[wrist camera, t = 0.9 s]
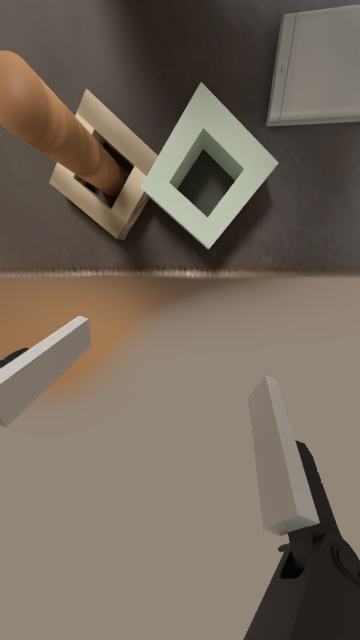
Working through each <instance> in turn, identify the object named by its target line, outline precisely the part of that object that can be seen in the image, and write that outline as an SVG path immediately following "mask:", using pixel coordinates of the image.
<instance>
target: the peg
mask: <svg viewBox="0 0 360 640" xmlns="http://www.w3.org/2000/svg"><path fill="white" fill-rule="evenodd" d="M0 124H1V125H2V126H3V127H4V128H5V129H7V130H8V131H10V132H11V133H13V134H15V135H16V136H18V137H19V138H21V139H22V140H24V141H25V142H27V143H28V144H30V145H31V146H33V147H35V148H36V149H38V150H39V151H41V152H42V153H44V154H45V155H47V156H48V157H50V158H52V159H53V160H55V161H56V162H58V163H59V164H61V165H62V166H64V167H65V168H67V169H68V170H70V171H72V172H73V173H75V174H76V175H78V176H79V177H81V178H82V179H84V180H85V181H87V182H88V183H90V184H92V185H93V186H95V187H96V188H98V189H99V190H101V191H102V192H104V193H105V194H107V195H109V196H112V197H116V196H119V194H120V192H121V190H122V188H123V187H124V185H125V183H126V175H125V173H124V171H123V169H122V168H121V166H120V165H119V164H118V163H117V162H116V161H115V160H114V159H113V158H112V157H111V155H110V154H109V153H108V152H107V151H106V150H105V149H104V148H103V147H102V146H101V144H100V143H99V142H98V141H97V140H96V139H95V138H94V137H93V136H92V135H91V133H90V132H89V131H88V130H87V129H86V128H85V127H84V126H83V125H82V124H81V123H80V121H79V120H78V119H77V118H76V117H75V116H74V115H73V114H72V113H71V112H70V110H69V109H68V108H67V107H66V106H65V105H64V104H63V103H62V102H61V101H60V99H59V98H58V97H57V96H56V95H55V94H54V93H53V92H52V91H51V90H50V88H49V87H48V86H47V85H46V84H45V83H44V82H43V81H42V80H41V79H40V77H39V76H38V75H37V74H36V73H35V72H34V71H33V70H32V69H31V68H30V67H29V65H28V64H27V63H26V62H25V61H24V60H23V59H22V58H21V57H20V56H18V55H17V54H15V53H13V52H10V51H0Z"/></svg>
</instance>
